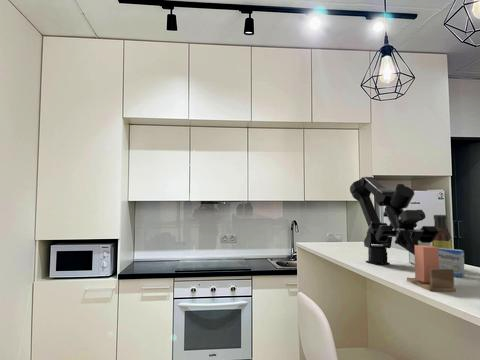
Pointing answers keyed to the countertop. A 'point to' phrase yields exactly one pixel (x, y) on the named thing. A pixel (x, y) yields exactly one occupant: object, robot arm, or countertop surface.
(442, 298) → the countertop surface
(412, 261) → the syrup box
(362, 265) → the countertop surface
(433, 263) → the pink tall block
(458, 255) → the medicine box
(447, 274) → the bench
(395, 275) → the countertop surface
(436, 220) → the sauce bottle
